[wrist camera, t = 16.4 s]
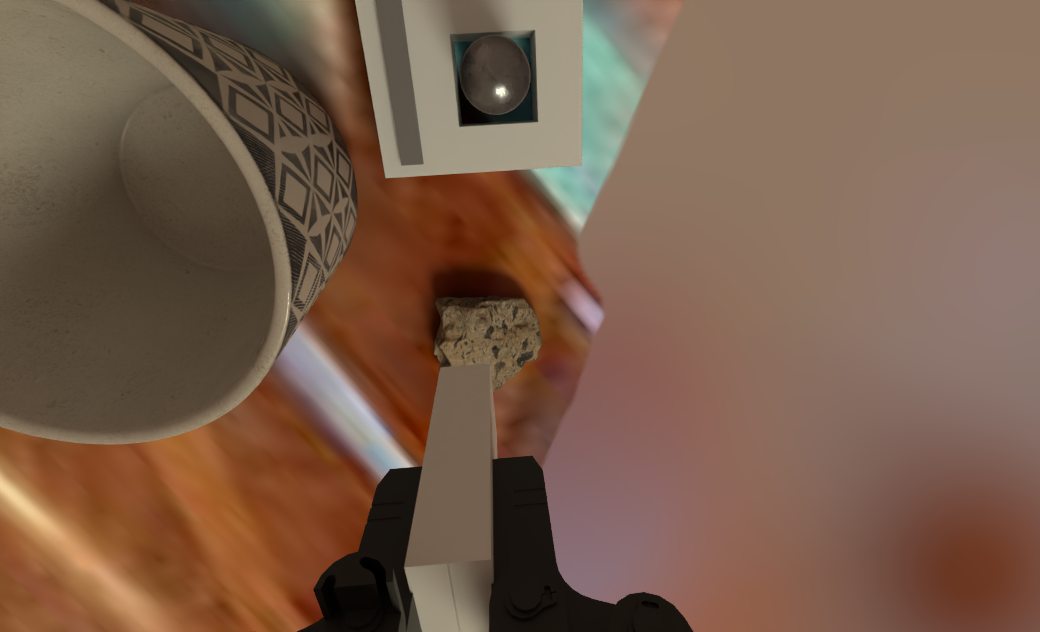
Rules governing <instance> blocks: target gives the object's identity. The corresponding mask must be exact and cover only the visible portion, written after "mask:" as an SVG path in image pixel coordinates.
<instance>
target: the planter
mask: <svg viewBox="0 0 1040 632" xmlns="http://www.w3.org/2000/svg"><path fill="white" fill-rule="evenodd" d="M356 218H357V188H356V181H355V176H354V171H353V167H352V164H351V160H350V157H349V155H348V152H347V149H346V147H345V144H344V142H343V140H342V138H341V136H340V134H339V132H338V130H337V128H336V127H335V125H334V123H333V122H332V120H331V119H330V117H329V115H328V114H327V113H326V111H325V110H324V109H323V107H322V106H321V105H320V103H319V102H318V101H317V100H316V99H315V97H314V96H313V95H312V94H311V93H310V92H309V91H308V90H307V89H306V88H305V87H304V86H303V85H302V84H301V83H300V82H299V81H298V80H297V79H296V78H295V77H294V76H293V75H291V74H290V73H289V72H288V71H286V70H285V69H284V68H283V67H281V66H280V65H278V64H277V63H276V62H274V61H273V60H271V59H270V58H268V57H266V56H265V55H263V54H261V53H260V52H258V51H256V50H254V49H252V48H250V47H248V46H246V45H244V44H241V43H239V42H237V41H234V40H232V39H229V38H226V37H224V36H221V35H219V34H216V33H213V32H211V31H208V30H205V29H203V28H200V27H198V26H195V25H192V24H190V23H187V22H184V21H182V20H179V19H176V18H174V17H171V16H169V15H166V14H163V13H161V12H158V11H155V10H153V9H150V8H148V7H145V6H142V5H140V4H137V3H134V2H132V1H129V0H0V427H2V428H6V429H9V430H13V431H16V432H20V433H24V434H29V435H33V436H37V437H42V438H48V439H53V440H59V441H67V442H74V443H87V444H130V443H140V442H147V441H154V440H160V439H164V438H168V437H173V436H176V435H180V434H183V433H186V432H189V431H192V430H194V429H197V428H199V427H202V426H204V425H206V424H208V423H210V422H212V421H214V420H216V419H218V418H219V417H221V416H223V415H224V414H226V413H228V412H229V411H230V410H232V409H233V408H234V407H236V406H237V405H238V404H240V403H241V402H242V401H243V400H244V399H245V398H246V397H248V396H249V395H250V394H251V393H252V391H253V390H254V389H255V388H256V387H257V386H258V385H259V384H260V382H261V381H262V380H263V378H264V377H265V376H266V374H267V373H268V371H269V370H270V368H271V367H272V365H273V364H274V362H275V361H276V359H277V358H278V356H279V355H280V353H281V352H282V350H283V349H284V347H285V346H286V344H287V343H288V341H289V340H290V338H291V337H292V335H293V334H294V332H295V331H296V329H297V328H298V326H299V325H300V323H301V322H302V320H303V318H304V317H305V315H306V314H307V312H308V311H309V309H310V308H311V306H312V305H313V303H314V302H315V300H316V299H317V297H318V296H319V294H320V293H321V291H322V290H323V288H324V287H325V285H326V284H327V282H328V281H329V279H330V278H331V276H332V275H333V273H334V272H335V270H336V269H337V267H338V266H339V264H340V262H341V261H342V259H343V257H344V256H345V254H346V252H347V250H348V248H349V245H350V243H351V240H352V237H353V233H354V230H355V224H356Z"/></svg>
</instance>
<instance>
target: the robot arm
mask: <svg viewBox="0 0 1040 632" xmlns="http://www.w3.org/2000/svg"><path fill="white" fill-rule="evenodd" d="M313 590H314V592H315V595H316V598H317V600H318V603H319V606H320V608H321V611H322V613H323V616H324V617H323V618H322V619H320V620H319V621H318V622H316V623H314V624H312V625H310V626H308V627H306V628H304V629H302V630H299V631H297V632H693V630H692V629H691V627H690V626H689V624H688V622H687V621H686V619H685V618H684V617H683V615H682V614H681V613H680V612H679V611H678V610H677V609H676V607H675V606H674V605H673V604H671V603H670V602H668V601H666V600H665V599H663V598H662V597H660V596H657V595H653V594H649V593H645V592H642V593H635V594H629V595H627V596H626V597H625V598H623V599H621V600H620V601H618V602H617V604H616V605H615V604H610V603H607V602H603V601H598V600H594V599H591V598H589V597H586V596H583V595H581V594H579V593H578V592H576V591H575V590H573V589H572V588H571V587H570V586H569V585H568V584H567V583H566V582H565V581H564V579H563V578H562V576H561V574H560V572H559V570H558V567H557V563H556V557H555V551H554V544H553V537H552V530H551V523H550V516H549V510H548V504H547V496H546V490H545V482H544V476H543V470H542V469H541V467H540V466H539V464H538V463H537V462H536V460H535V459H534V458H533V456H524V457H512V458H500V459H497V433H496V423H495V412H494V401H493V391H492V380H491V370H490V364H479V365H466V366H453V367H440V372H439V378H438V384H437V389H436V395H435V400H434V406H433V411H432V417H431V422H430V428H429V433H428V439H427V444H426V450H425V455H424V461H423V466H422V467H410V468H398V469H390V470H389V471H388V473H387V474H386V475H385V476H384V478H383V479H382V480H381V482H380V483H379V484H378V485H377V488H376V491H375V495H374V498H373V502H372V508H371V509H370V512H369V516H368V519H367V524H366V526H365V529H364V533H363V536H362V540H361V543H360V547H359V550H358V552H355V553H352V554H348V555H346V556H345V557H343V558H341V559H339V560H338V561H336V562H334V563H333V564H332V565H331V566H330V567H329V568H328V569H327V570H326V571H325V572H324V573H323V574H322V575H321V577H320V578H319V580H318V582H317V584H316V586H315V587H314V589H313Z"/></svg>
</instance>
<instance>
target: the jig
mask: <svg viewBox="0 0 1040 632" xmlns="http://www.w3.org/2000/svg"><path fill="white" fill-rule="evenodd" d="M355 3H356V9H357V15H358V21H359V26H360V32H361V38H362V44H363V50H364V55H365V61H366V67H367V73H368V79H369V84H370V90H371V96H372V102H373V108H374V113H375V119H376V125H377V131H378V137H379V142H380V148H381V154H382V160H383V166H384V171H385V177H386V178H396V177H411V176H427V175H443V174H459V173H474V172H490V171H506V170H522V169H537V168H553V167H569V166H582V67H583V0H355ZM487 35H501V36H505V37H507V38H509V39H516V38H530V54H531V80H532V107H533V120H524V121H507V122H491V123H474V124H462V117H461V107H460V97H459V87H458V77H457V67H456V57H455V46H454V42H460V41H476V40H477V39H479V38H481V37H484V36H487Z"/></svg>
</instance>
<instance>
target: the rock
mask: <svg viewBox="0 0 1040 632" xmlns="http://www.w3.org/2000/svg"><path fill="white" fill-rule="evenodd" d="M435 305H436V307H437V310H438V312H439V314H440V317H441V324H440V326H439V329H438V332H437V337H436V339H435V341H434V347H435V348H434V355H437V358H438V360H439V362H440V367H453V366H466V365H479V364H490V370H491V380H492V390H497V389H498V388H500V387H501V386H502V385H504V384H505V382H506V381H507V380H508V379H509V378H513V377H514V375H515V374H516V373H518V372H519V371H521V370H522V368H523V365H524V363H525V362H526V361H532V360H535V359H536V358H537V357H538V350H539V349H540V348H541V345H542V339H541V336H540V330H539V322H538V318H537V317H536V316H535V315H534V313H533V310H532V308H531V307H530V306H529V305H528V303H527V302H526V301H525V300H524V299H522V298H515V297H514V298H503V297H500V296H487V297H475V298H469V297H465V298H455V297H443V298H437V299H436V301H435ZM440 367H439V372H440Z"/></svg>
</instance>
